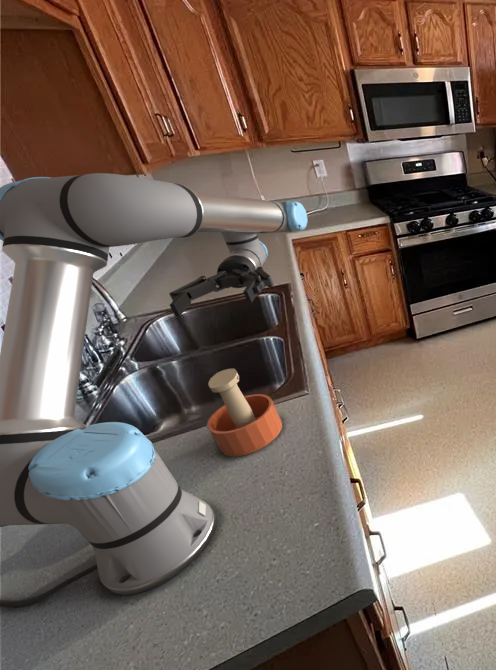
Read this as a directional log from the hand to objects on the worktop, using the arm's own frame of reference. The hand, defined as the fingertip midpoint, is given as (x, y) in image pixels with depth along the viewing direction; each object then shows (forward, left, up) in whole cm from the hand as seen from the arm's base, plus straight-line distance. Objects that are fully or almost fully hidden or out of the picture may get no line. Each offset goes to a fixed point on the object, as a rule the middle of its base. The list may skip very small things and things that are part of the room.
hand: (211, 303), depth 86 cm
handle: (-5, -8, -28) cm, 29 cm away
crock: (-5, -8, -28) cm, 30 cm away
